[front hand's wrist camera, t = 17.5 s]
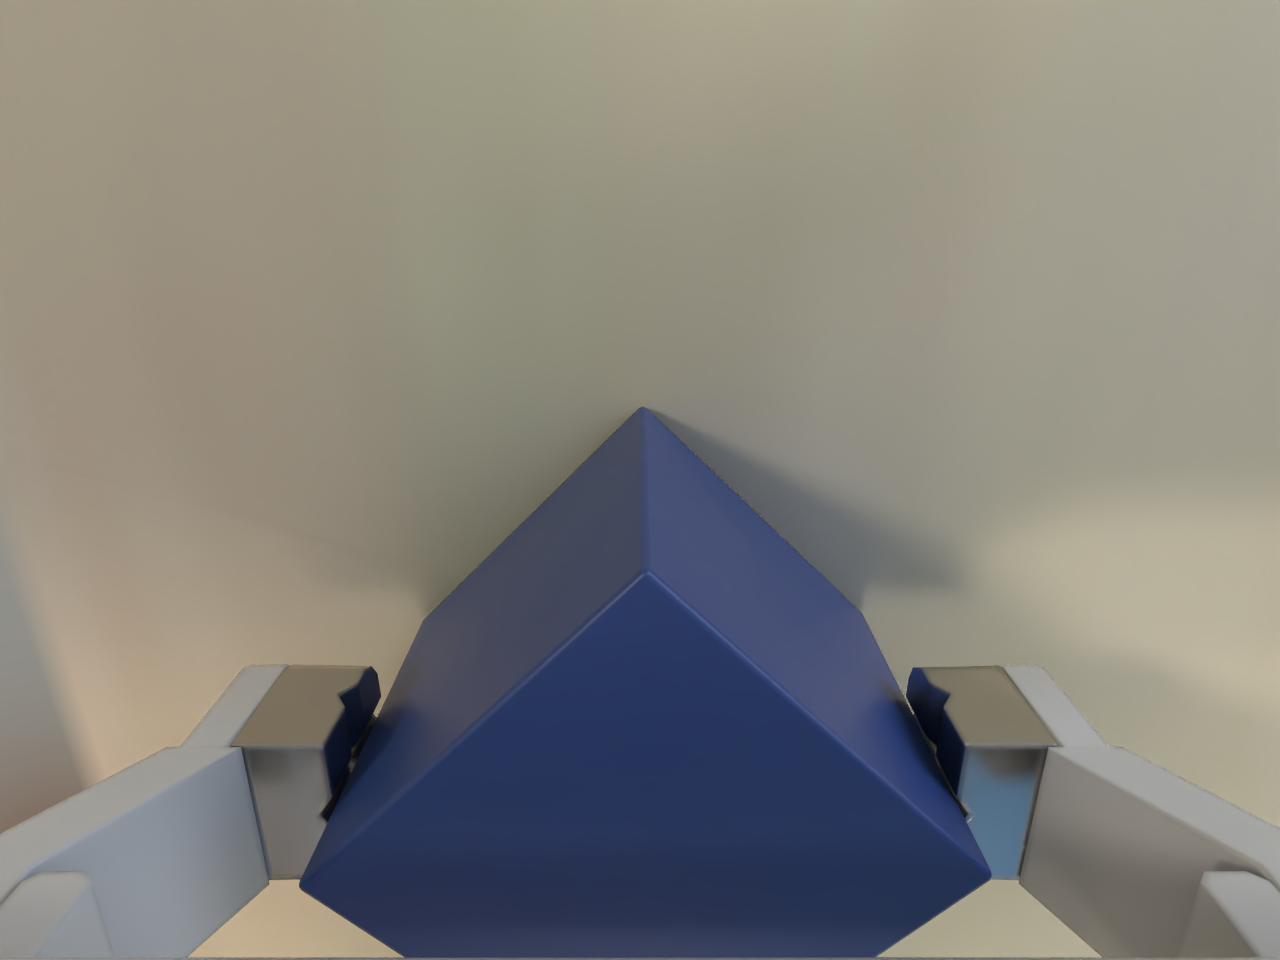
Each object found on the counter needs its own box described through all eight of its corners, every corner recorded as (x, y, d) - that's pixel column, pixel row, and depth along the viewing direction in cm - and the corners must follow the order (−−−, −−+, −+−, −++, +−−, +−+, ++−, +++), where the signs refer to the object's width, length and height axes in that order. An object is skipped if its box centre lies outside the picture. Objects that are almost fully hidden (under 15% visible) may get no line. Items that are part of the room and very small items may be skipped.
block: (641, 794, 14) (644, 1116, 9) (421, 620, 12) (294, 889, 8) (863, 613, 12) (997, 878, 8) (642, 403, 11) (646, 568, 7)
